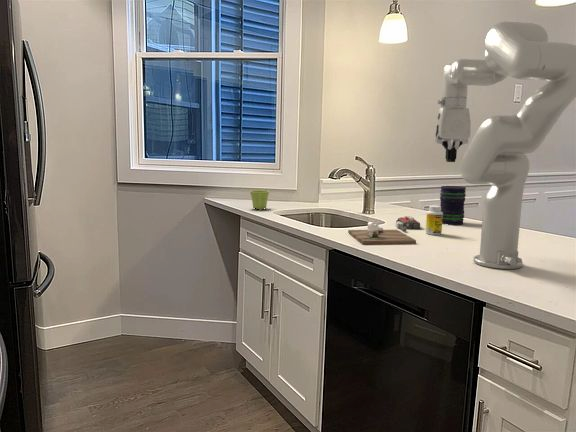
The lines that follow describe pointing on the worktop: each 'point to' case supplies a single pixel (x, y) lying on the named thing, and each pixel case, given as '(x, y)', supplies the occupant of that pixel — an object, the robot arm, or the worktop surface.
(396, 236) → the dial board
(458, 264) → the worktop surface
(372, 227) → the lever
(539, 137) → the robot arm
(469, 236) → the worktop surface
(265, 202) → the plant pot
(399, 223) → the walkie-talkie
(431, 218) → the supplement bottle
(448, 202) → the storage jar
